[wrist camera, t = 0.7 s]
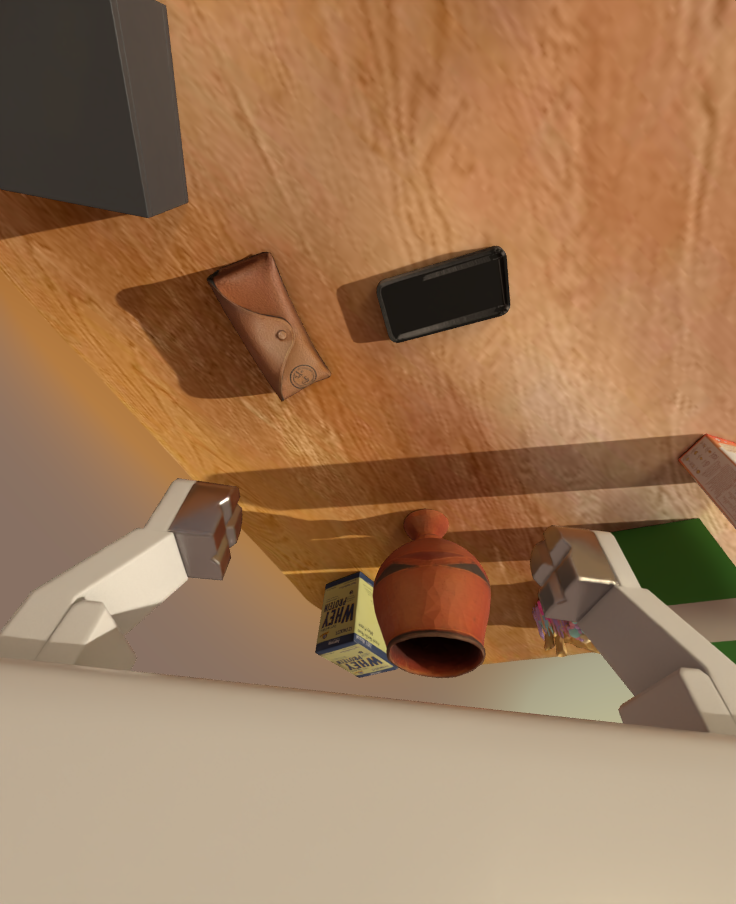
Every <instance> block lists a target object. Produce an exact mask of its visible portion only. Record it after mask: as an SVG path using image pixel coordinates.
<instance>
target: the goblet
mask: <svg viewBox="0 0 736 904" xmlns="http://www.w3.org/2000/svg"><path fill="white" fill-rule="evenodd" d="M448 525H449V521H448V519H447V518H446V517H445V516H444V515H443V514H442V513H440V512H439V511H435V510H430V509H423V510H418V511H414V512H412V513H410V514H409V515H408V516H407V518H406V519H405V521H404V529H405V532H406V533H407V535H408V536H409V537H410V538H411V539H412V540H414V541H411V542H409V543H407V544H405V545H403V546H401V547H399V548H398V549H396V550H395V551H394V552H393V553H392V554H391V555H390V556H389V557H388V558H387V559H386V560H385V561H384V563H383V564H382V565H381V567H380V569H379V571H378V573H377V576H376V578H375V581H374V587H373V604H374V610H375V614H376V618H377V621H378V624H379V627H380V630H381V633H382V636H383V639H384V642H385V645H386V648H387V650H386V655H387V659H388V660H389V661H390V662H391V663H392V664H394V665H395V666H397V667H398V668H400V669H402V670H404V671H407V672H409V673H412V674H417V675H421V676H427V677H436V678H449V677H457V676H460V675H463V674H466V673H469V672H471V671H473V670H474V669H476V668H477V667H478V666H480V665H481V664H482V663H483V661H484V659H485V655H486V654H485V648H484V638H485V632H486V626H487V622H488V618H489V612H490V603H491V590H490V584H489V580H488V577H487V575H486V573H485V571H484V569H483V567H482V566H481V564H480V563H479V561H478V560H477V559H476V558H475V557H474V556H473V555H472V554H471V553H470V552H468V551H467V550H466V549H464V548H463V547H461V546H460V545H458V544H456V543H454V542H452V541H449V540H445V539H443V538H442V537H443V536H444V535H445V533H446V532H447V530H448Z"/></svg>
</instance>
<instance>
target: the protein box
mask: <svg viewBox="0 0 736 904" xmlns="http://www.w3.org/2000/svg"><path fill="white" fill-rule="evenodd" d="M373 587H374V582H373V581H371V580H370V579H369V578H368V577H366V576H365V575H364V574H363V573H361V572H358V573H355V574H352V575H350V576H347V577H344V578H342V579H339V580H336V581H334V582H331V583H329V584H326V587H325V594H324V600H323V606H322V613H321V620H320V626H319V632H318V639H317V645H316V651H315V652H316V653H317V654H318V655H320V656H322V657H324V658H326V659H327V660H329V661H331V662H333V663H335V664H336V665H338V666H340V667H342V668H343V669H345V670H347V671H349V672H350V673H352V674H354V675H355V676H357V677H359V678H360V677H364V676H369V675H374V674H378V673H383V672H387V671H391V670H396V669H398V667H397V666H395V665H394V664H392V663H391V662H390V661H389V660H388V659H387V655H386V650H387V648H386V645H385V642H384V639H383V636H382V633H381V630H380V627H379V624H378V621H377V618H376V614H375V610H374V604H373Z"/></svg>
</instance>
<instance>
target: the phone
mask: <svg viewBox="0 0 736 904" xmlns="http://www.w3.org/2000/svg"><path fill="white" fill-rule="evenodd" d="M377 297H378V300H379V304H380V307H381V311H382V314H383V318H384V321H385V325H386V328H387V332H388V335H389V338H390V339H391V340H392V341H393V342H396V343H400V342H404V341H407V340H411V339H415V338H419V337H423V336H426V335H430V334H434V333H438V332H442V331H445V330H449V329H453V328H457V327H461V326H464V325H468V324H472V323H476V322H480V321H484V320H487V319H491V318H495V317H499V316H502V315H504V314H506V313H507V312H508V310H509V308H510V295H509V282H508V269H507V257H506V253H505V252H504V250H503V249H502V248H501V247H499V246H492V247H489V248H486V249H483V250H479V251H476V252H473V253H469V254H466V255H463V256H460V257H456V258H453V259H450V260H446V261H443V262H440V263H437V264H433V265H430V266H427V267H423V268H420V269H417V270H414V271H410V272H407V273H404V274H400V275H397V276H394V277H391V278H387V279H384V280H382V281H381V282H379V284H378V286H377Z"/></svg>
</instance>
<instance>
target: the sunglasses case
mask: <svg viewBox="0 0 736 904" xmlns="http://www.w3.org/2000/svg"><path fill="white" fill-rule="evenodd" d="M207 282H208V284H209V285H210V287H211V288H212V290H213V292H214V294H215V295H216V297H217V299H218V301H219V302H220V304H221V306H222V308H223V309H224V311H225V313H226V315H227V316H228V318H229V320H230V321H231V323H232V325H233V326H234V328H235V330H236V331H237V333H238V334H239V336H240V338H241V339H242V341H243V343H244V344H245V346H246V347H247V349H248V351H249V352H250V354H251V356H252V357H253V359H254V360H255V362H256V364H257V365H258V367H259V368H260V370H261V371H262V373H263V375H264V376H265V378H266V379H267V381H268V382H269V384H270V385H271V387H272V388H273V389H274V391H275V392H276V394H277V395H278V397H279V398H280V400H281V401H284V399H287V398H288V397H290V396H292V395H294V394H295V393H297V392H299V391H300V390H302V389H304V388H305V387H307V386H309V385H311V384H312V383H314V382H317V381H320V380H323V379H326V378H328V377H330V375H331V373H330V371H329V370H328V368H327V366H326V365H325V364H324V362H323V361H322V359H321V358H320V356H319V354H318V353H317V351H316V349H315V347H314V346H313V344H312V342H311V340H310V338H309V336H308V334H307V332H306V330H305V328H304V326H303V324H302V323H301V320H300V318H299V316H298V314H297V312H296V310H295V308H294V306H293V304H292V302H291V300H290V298H289V295H288V293H287V291H286V289H285V286H284V284H283V282H282V279H281V276H280V273H279V271H278V268H277V266H276V264H275V261H274V259H273V256H272V255H271V253H268V252H262V253H260V254H257V255H254V256H251V257H249V258H247V259H244V260H241V261H238V262H236V263H233V264H230V265H228V266H225V267H223V268H220V269H219V270H217V271H216V272H214V273H213V274H212V275H210V276H209V277H208V278H207Z"/></svg>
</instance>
